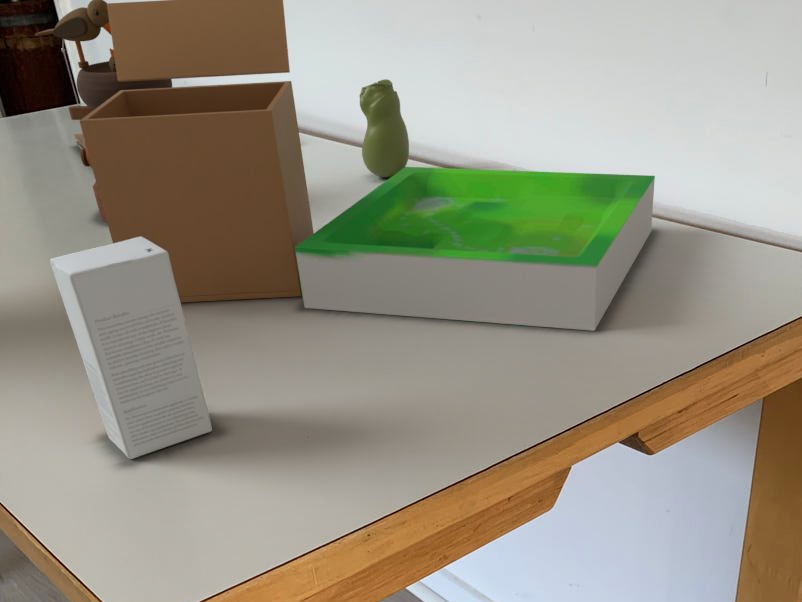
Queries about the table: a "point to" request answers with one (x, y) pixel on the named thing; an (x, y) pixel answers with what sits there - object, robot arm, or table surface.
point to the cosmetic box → (134, 344)
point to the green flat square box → (482, 246)
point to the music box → (94, 68)
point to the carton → (207, 183)
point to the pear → (383, 130)
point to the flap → (198, 38)
